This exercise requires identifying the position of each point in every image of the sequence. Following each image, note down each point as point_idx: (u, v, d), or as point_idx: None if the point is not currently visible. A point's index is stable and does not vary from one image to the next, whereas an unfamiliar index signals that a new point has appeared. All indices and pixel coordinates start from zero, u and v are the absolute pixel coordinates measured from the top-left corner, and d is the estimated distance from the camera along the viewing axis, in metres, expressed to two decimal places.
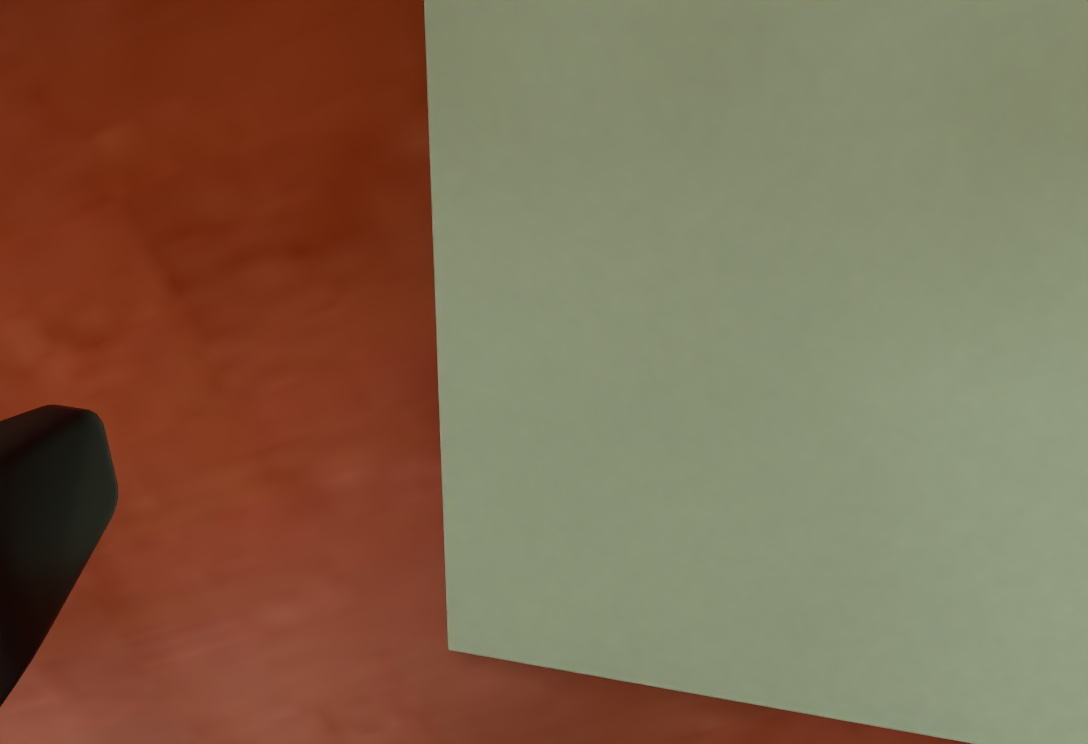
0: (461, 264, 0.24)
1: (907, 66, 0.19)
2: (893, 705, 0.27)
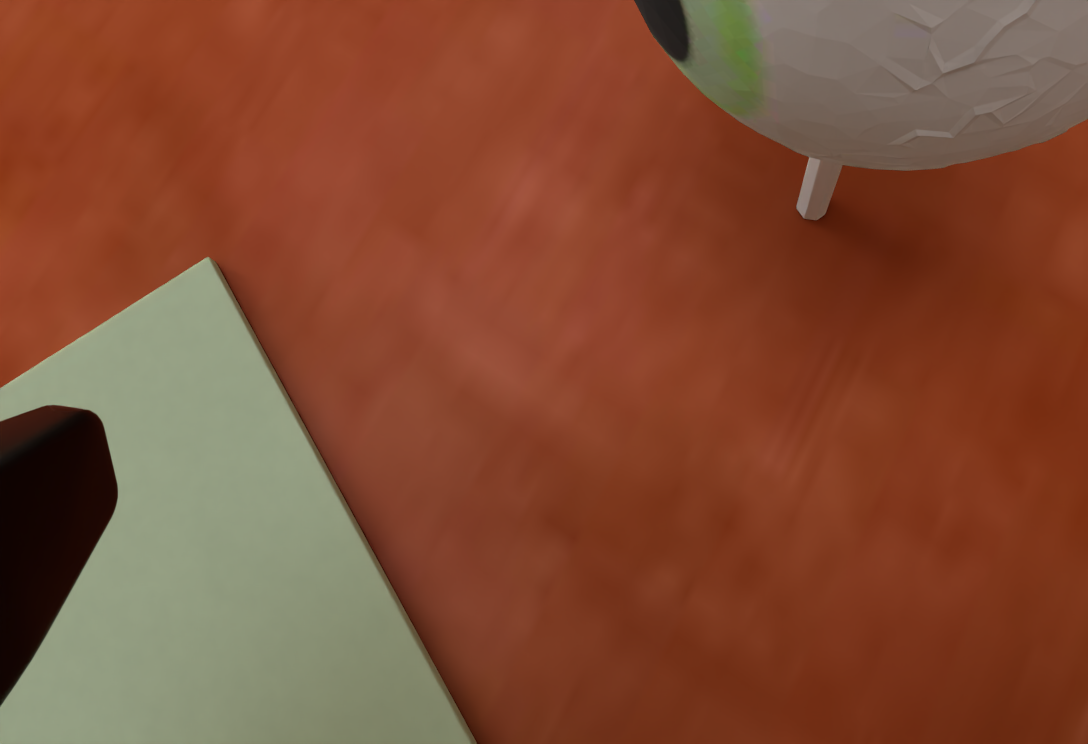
0: None
1: None
2: None
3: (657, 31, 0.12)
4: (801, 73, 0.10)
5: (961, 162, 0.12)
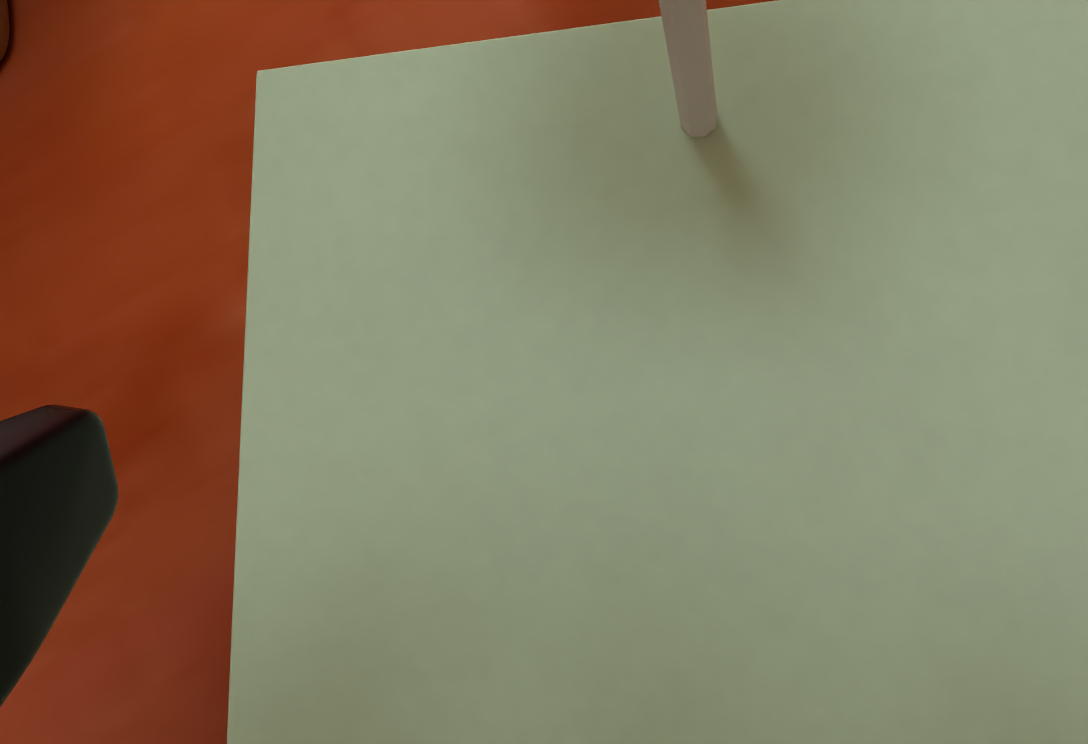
0: (272, 437, 0.19)
1: (731, 134, 0.19)
2: None
3: None
4: None
5: None
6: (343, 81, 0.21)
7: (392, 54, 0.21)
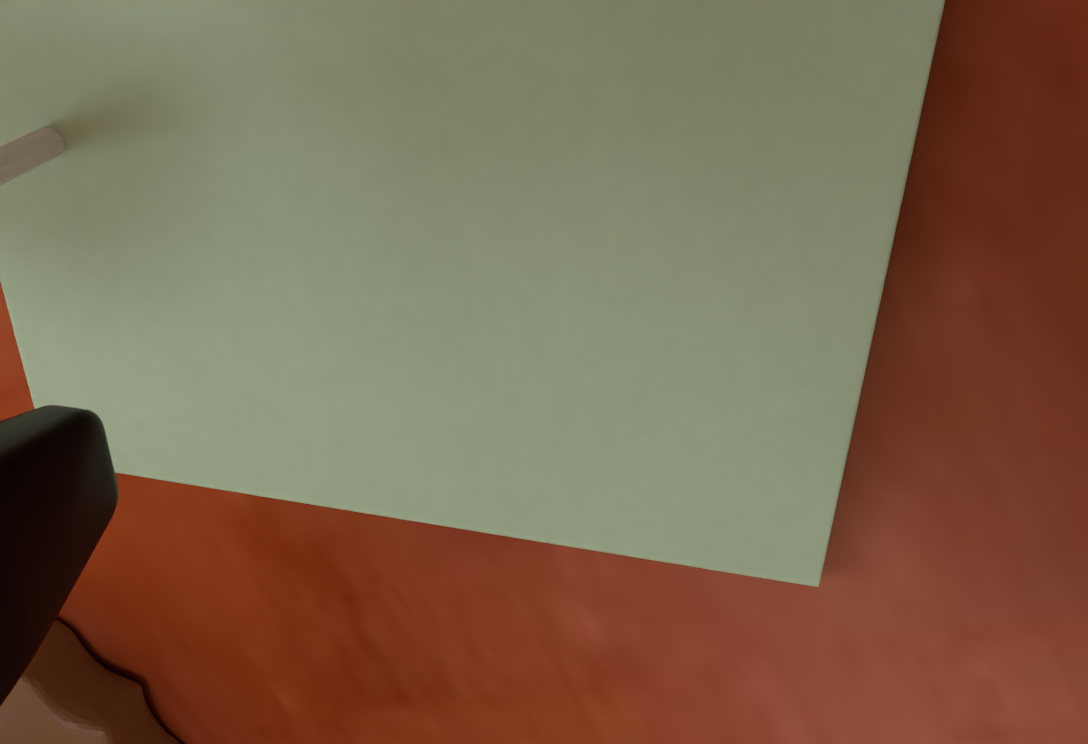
0: (319, 485, 0.26)
1: (59, 116, 0.22)
2: (882, 42, 0.18)
3: None
4: None
5: None
6: (49, 403, 0.26)
7: (24, 365, 0.26)
